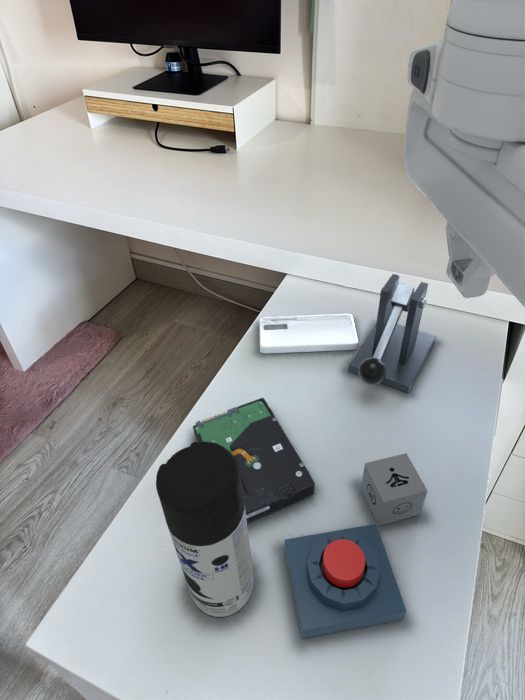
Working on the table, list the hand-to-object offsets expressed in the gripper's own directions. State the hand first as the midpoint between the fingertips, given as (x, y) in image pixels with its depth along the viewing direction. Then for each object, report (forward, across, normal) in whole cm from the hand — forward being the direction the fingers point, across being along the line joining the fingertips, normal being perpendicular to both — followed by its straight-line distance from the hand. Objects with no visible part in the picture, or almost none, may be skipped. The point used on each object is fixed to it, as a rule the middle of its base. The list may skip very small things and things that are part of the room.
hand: (464, 286), depth 38 cm
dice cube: (+30, 0, +2) cm, 31 cm away
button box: (+30, -8, +10) cm, 33 cm away
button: (+27, -8, +10) cm, 29 cm away
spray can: (+30, -6, +22) cm, 38 cm away
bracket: (+30, +24, -7) cm, 39 cm away
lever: (+24, +20, -4) cm, 32 cm away
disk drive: (+30, +8, +17) cm, 36 cm away
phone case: (+30, +30, +5) cm, 43 cm away
